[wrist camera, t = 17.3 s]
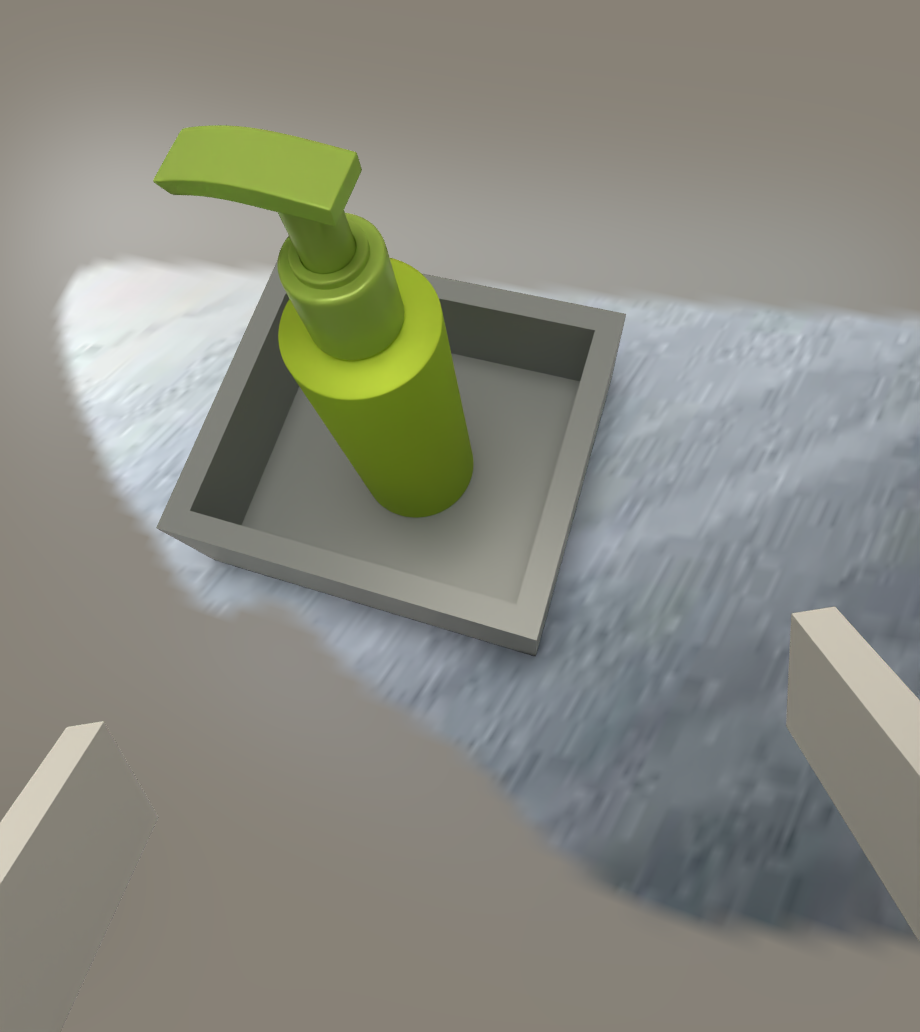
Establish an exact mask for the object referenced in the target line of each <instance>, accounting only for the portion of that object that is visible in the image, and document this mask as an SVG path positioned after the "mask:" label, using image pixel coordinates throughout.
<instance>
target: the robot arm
mask: <svg viewBox="0 0 920 1032" xmlns="http://www.w3.org/2000/svg"><path fill="white" fill-rule="evenodd" d="M786 726H787V728H788V730H789V731H790V733H791V735H792V736H793V738H794V739H795V741H796V743H797V744H798V746H799V747H800V749H801V751H802V752H803V754H804V756H805V757H806V759H807V760H808V762H809V764H810V765H811V767H812V769H813V770H814V772H815V773H816V775H817V777H818V778H819V780H820V782H821V783H822V785H823V786H824V788H825V790H826V791H827V793H828V794H829V796H830V798H831V799H832V801H833V803H834V804H835V806H836V807H837V809H838V811H839V812H840V814H841V816H842V817H843V819H844V820H845V822H846V824H847V825H848V827H849V829H850V830H851V832H852V833H853V835H854V837H855V838H856V840H857V842H858V843H859V845H860V846H861V848H862V850H863V851H864V853H865V854H866V856H867V858H868V859H869V861H870V863H871V864H872V866H873V867H874V869H875V871H876V872H877V874H878V876H879V877H880V879H881V880H882V882H883V884H884V885H885V887H886V889H887V890H888V892H889V893H890V895H891V897H892V898H893V900H894V901H895V903H896V905H897V906H898V908H899V910H900V911H901V913H902V914H903V916H904V918H905V919H906V921H907V923H908V924H909V926H910V927H911V929H912V931H913V932H914V934H915V936H916V937H917V939H918V940H919V942H920V700H919V699H918V698H917V697H916V696H915V695H914V694H913V693H912V692H911V690H910V689H909V688H908V687H907V686H906V685H905V684H904V683H903V682H902V680H901V679H900V678H899V677H898V676H897V675H896V674H895V673H894V672H893V670H892V669H891V668H890V667H889V666H888V665H887V664H886V663H885V662H884V661H883V659H882V658H881V657H880V656H879V655H878V654H877V653H876V652H875V651H874V649H873V648H872V647H871V646H870V645H869V644H868V643H867V642H866V641H865V639H864V638H863V637H862V636H861V635H860V634H859V633H858V632H857V631H856V630H855V628H854V627H853V626H852V625H851V624H850V623H849V622H848V621H847V620H846V618H845V617H844V616H843V615H842V614H841V613H840V612H839V611H838V610H837V608H836V607H830V608H823V609H817V610H811V611H804V612H798V613H792V614H791V635H790V656H789V678H788V699H787V720H786ZM157 819H158V816H157V814H156V812H155V810H154V808H153V807H152V805H151V803H150V801H149V800H148V798H147V796H146V794H145V792H144V791H143V789H142V787H141V785H140V784H139V782H138V780H137V779H136V777H135V775H134V773H133V771H132V770H131V768H130V766H129V764H128V763H127V761H126V759H125V757H124V756H123V754H122V752H121V750H120V749H119V747H118V745H117V743H116V742H115V740H114V738H113V736H112V734H111V733H110V731H109V729H108V727H107V726H106V724H105V722H104V721H103V722H97V723H90V724H83V725H78V726H71V727H67V728H66V729H65V731H64V732H63V733H62V735H61V736H60V738H59V739H58V741H57V742H56V743H55V745H54V746H53V748H52V749H51V751H50V752H49V753H48V755H47V756H46V758H45V759H44V761H43V762H42V763H41V765H40V766H39V768H38V769H37V771H36V772H35V773H34V775H33V776H32V778H31V779H30V781H29V782H28V784H27V785H26V786H25V788H24V789H23V791H22V792H21V794H20V795H19V797H18V798H17V799H16V801H15V802H14V804H13V805H12V806H11V808H10V809H9V811H8V812H7V814H6V815H5V817H4V818H3V819H2V821H1V822H0V1032H61V1030H62V1028H63V1025H64V1023H65V1021H66V1019H67V1017H68V1015H69V1012H70V1010H71V1008H72V1006H73V1004H74V1001H75V999H76V997H77V995H78V992H79V990H80V988H81V986H82V984H83V982H84V979H85V977H86V975H87V973H88V971H89V968H90V966H91V964H92V962H93V960H94V957H95V955H96V953H97V951H98V949H99V947H100V944H101V942H102V940H103V938H104V935H105V933H106V931H107V929H108V927H109V925H110V922H111V920H112V918H113V916H114V914H115V912H116V909H117V907H118V905H119V903H120V901H121V898H122V896H123V894H124V892H125V889H126V887H127V885H128V883H129V881H130V879H131V876H132V874H133V872H134V870H135V868H136V865H137V863H138V861H139V859H140V857H141V855H142V852H143V850H144V848H145V846H146V844H147V841H148V839H149V837H150V835H151V832H152V830H153V828H154V826H155V824H156V822H157Z"/></svg>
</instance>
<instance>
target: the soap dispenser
mask: <svg viewBox="0 0 920 1032" xmlns="http://www.w3.org/2000/svg"><path fill="white" fill-rule="evenodd" d="M361 170H362V169H361V166H360V162H359V159H358V156H357V153H356V152H353V151H349V150H346V149H342V148H338V147H335V146H331V145H327V144H323V143H319V142H316V141H312V140H308V139H303V138H299V137H295V136H291V135H287V134H282V133H278V132H273V131H268V130H262V129H255V128H249V127H239V126H221V125H220V126H198V127H189V128H185V129H182V130H181V131H180V133H179V135H178V137H177V138H176V140H175V142H174V144H173V145H172V147H171V149H170V151H169V152H168V154H167V156H166V158H165V160H164V162H163V163H162V165H161V167H160V169H159V171H158V172H157V174H156V176H155V178H154V180H153V181H154V183H156V184H157V185H159V186H160V187H161V188H163V189H164V190H166V191H167V192H169V193H170V194H173V195H194V196H205V197H213V198H219V199H224V200H229V201H234V202H239V203H243V204H247V205H251V206H255V207H259V208H263V209H267V210H271V211H276V212H278V214H279V216H280V218H281V220H282V222H283V224H284V226H285V228H286V230H287V232H288V235H289V236H288V238H287V239H286V240H285V242H284V244H283V246H282V248H281V250H280V253H279V256H278V263H277V268H278V274H279V278H280V281H281V283H282V286H283V288H284V289H285V291H286V293H287V295H288V297H289V298H290V299H289V300H288V302H287V304H286V306H285V308H284V310H283V313H282V316H281V320H280V324H279V331H278V340H279V348H280V352H281V356H282V358H283V361H284V363H285V365H286V367H287V369H288V370H289V372H290V373H291V375H292V376H293V378H294V379H295V381H296V382H297V384H298V385H299V387H300V388H301V390H302V391H303V393H304V394H305V395H306V397H307V398H308V400H309V401H310V403H311V404H312V406H313V407H314V409H315V410H316V412H317V413H318V415H319V416H320V418H321V419H322V421H323V422H324V424H325V425H326V427H327V428H328V430H329V431H330V433H331V434H332V436H333V437H334V439H335V440H336V442H337V443H338V445H339V446H340V448H341V449H342V451H343V452H344V454H345V455H346V457H347V458H348V460H349V461H350V463H351V464H352V466H353V467H354V468H355V470H356V471H357V473H358V474H359V476H360V477H361V479H362V480H363V482H364V483H365V485H366V486H367V488H368V489H369V491H370V492H371V494H372V495H373V497H374V498H375V499H376V500H377V502H378V503H379V504H381V505H382V506H383V507H384V508H386V509H387V510H389V511H391V512H393V513H395V514H398V515H401V516H405V517H415V518H417V517H427V516H431V515H434V514H437V513H440V512H442V511H444V510H446V509H447V508H449V507H450V506H452V505H453V504H454V503H455V502H456V501H457V500H458V499H459V498H460V497H461V496H462V495H463V493H464V492H465V490H466V489H467V487H468V485H469V483H470V480H471V477H472V473H473V454H472V449H471V445H470V440H469V435H468V430H467V426H466V421H465V416H464V412H463V407H462V402H461V397H460V393H459V388H458V383H457V378H456V374H455V369H454V364H453V360H452V355H451V350H450V345H449V341H448V336H447V331H446V327H445V322H444V317H443V312H442V308H441V304H440V301H439V298H438V295H437V293H436V291H435V290H434V288H433V286H432V285H431V283H430V282H429V281H428V280H427V279H426V278H425V277H424V276H423V275H422V274H421V273H420V272H419V271H418V270H416V269H415V268H413V267H412V266H410V265H408V264H406V263H404V262H402V261H399V260H396V259H393V258H389V255H388V251H387V248H386V245H385V242H384V239H383V237H382V236H381V234H380V233H379V231H378V230H377V228H376V227H375V226H374V225H373V224H372V223H370V222H369V221H367V220H366V219H364V218H362V217H359V216H357V215H353V214H349V213H345V212H344V208H345V206H346V204H347V202H348V199H349V197H350V195H351V193H352V191H353V188H354V186H355V184H356V182H357V180H358V177H359V175H360V173H361Z"/></svg>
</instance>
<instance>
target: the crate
mask: <svg viewBox="0 0 920 1032" xmlns="http://www.w3.org/2000/svg"><path fill="white" fill-rule="evenodd" d="M277 263H278V260H277ZM277 263H276V265H275V267H274V269H273V271H272V274H271V276H270V278H269V280H268V282H267V285H266V287H265V289H264V291H263V293H262V296H261V298H260V300H259V302H258V305H257V307H256V309H255V311H254V313H253V316H252V318H251V320H250V322H249V324H248V327H247V329H246V331H245V333H244V335H243V338H242V340H241V342H240V344H239V346H238V349H237V351H236V353H235V355H234V358H233V360H232V362H231V364H230V366H229V369H228V371H227V373H226V375H225V377H224V380H223V382H222V384H221V386H220V388H219V391H218V393H217V395H216V397H215V399H214V402H213V404H212V406H211V408H210V410H209V413H208V415H207V417H206V419H205V422H204V424H203V426H202V428H201V430H200V433H199V435H198V437H197V439H196V441H195V444H194V446H193V448H192V450H191V452H190V455H189V457H188V459H187V461H186V463H185V466H184V468H183V470H182V472H181V475H180V477H179V479H178V481H177V483H176V486H175V488H174V490H173V492H172V494H171V497H170V499H169V501H168V503H167V505H166V508H165V510H164V512H163V514H162V516H161V519H160V521H159V523H158V525H157V529H159V530H161V531H163V532H164V533H166V534H168V535H170V536H172V537H174V538H175V539H177V540H179V541H181V542H183V543H185V544H186V545H188V546H190V547H192V548H194V549H196V550H197V551H199V552H201V553H203V554H205V555H206V556H208V557H210V558H212V559H214V560H216V561H220V562H223V563H226V564H230V565H233V566H236V567H240V568H243V569H246V570H250V571H253V572H256V573H260V574H263V575H266V576H269V577H273V578H276V579H279V580H283V581H286V582H289V583H293V584H296V585H299V586H303V587H306V588H309V589H313V590H316V591H319V592H323V593H326V594H329V595H333V596H336V597H339V598H343V599H346V600H349V601H353V602H356V603H359V604H363V605H366V606H369V607H373V608H376V609H379V610H383V611H386V612H389V613H393V614H396V615H399V616H403V617H406V618H409V619H413V620H416V621H419V622H423V623H426V624H429V625H433V626H436V627H439V628H443V629H446V630H449V631H453V632H456V633H459V634H463V635H466V636H469V637H473V638H476V639H479V640H483V641H486V642H489V643H493V644H496V645H499V646H503V647H506V648H509V649H513V650H516V651H519V652H523V653H526V654H529V655H533V656H536V654H537V650H538V646H539V643H540V639H541V635H542V632H543V628H544V624H545V621H546V617H547V613H548V610H549V606H550V602H551V599H552V595H553V591H554V588H555V584H556V580H557V577H558V573H559V569H560V566H561V562H562V558H563V555H564V551H565V547H566V544H567V540H568V536H569V533H570V529H571V525H572V522H573V518H574V514H575V511H576V507H577V503H578V500H579V496H580V492H581V489H582V485H583V481H584V478H585V474H586V470H587V467H588V463H589V459H590V456H591V452H592V448H593V445H594V441H595V437H596V434H597V430H598V426H599V423H600V419H601V415H602V412H603V408H604V404H605V401H606V397H607V393H608V390H609V386H610V382H611V379H612V374H613V370H614V366H615V361H616V357H617V352H618V348H619V343H620V339H621V335H622V330H623V326H624V321H625V317H626V314H624V313H619V312H613V311H608V310H603V309H598V308H593V307H588V306H583V305H578V304H573V303H568V302H563V301H558V300H553V299H548V298H543V297H538V296H533V295H527V294H522V293H517V292H512V291H507V290H502V289H497V288H492V287H487V286H482V285H477V284H472V283H467V282H462V281H457V280H452V279H447V278H441V277H436V276H431V275H426V274H422V275H423V276H424V277H425V278H426V279H427V280H428V281H429V282H430V283H431V285H432V286H433V288H434V290H435V291H436V293H437V295H438V298H439V301H440V304H441V308H442V312H443V317H444V322H445V327H446V331H447V336H448V341H449V345H450V350H451V355H452V360H453V364H454V369H455V374H456V378H457V383H458V388H459V393H460V397H461V402H462V407H463V412H464V416H465V421H466V426H467V430H468V435H469V440H470V445H471V449H472V454H473V473H472V477H471V480H470V483H469V485H468V487H467V489H466V490H465V492H464V493H463V495H462V496H461V497H460V498H459V499H458V500H457V501H456V502H455V503H454V504H453V505H452V506H450V507H449V508H447V509H446V510H444V511H442V512H440V513H437V514H434V515H431V516H427V517H417V518H415V517H405V516H401V515H398V514H395V513H393V512H391V511H389V510H387V509H386V508H384V507H383V506H382V505H381V504H379V503H378V502H377V500H376V499H375V498H374V497H373V495H372V494H371V492H370V491H369V489H368V488H367V486H366V485H365V483H364V482H363V480H362V479H361V477H360V476H359V474H358V473H357V471H356V470H355V468H354V467H353V466H352V464H351V463H350V461H349V460H348V458H347V457H346V455H345V454H344V452H343V451H342V449H341V448H340V446H339V445H338V443H337V442H336V440H335V439H334V437H333V436H332V434H331V433H330V431H329V430H328V428H327V427H326V425H325V424H324V422H323V421H322V419H321V418H320V416H319V415H318V413H317V412H316V410H315V409H314V407H313V406H312V404H311V403H310V401H309V400H308V398H307V397H306V395H305V394H304V393H303V391H302V390H301V388H300V387H299V385H298V384H297V382H296V381H295V379H294V378H293V376H292V375H291V373H290V372H289V370H288V369H287V367H286V365H285V363H284V361H283V358H282V356H281V352H280V348H279V340H278V331H279V324H280V320H281V316H282V313H283V310H284V308H285V306H286V304H287V302H288V300H289V299H290V298H289V297H288V295H287V293H286V291H285V289H284V288H283V286H282V283H281V281H280V278H279V274H278V268H277Z"/></svg>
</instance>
